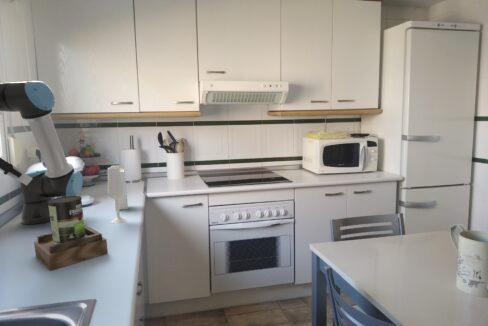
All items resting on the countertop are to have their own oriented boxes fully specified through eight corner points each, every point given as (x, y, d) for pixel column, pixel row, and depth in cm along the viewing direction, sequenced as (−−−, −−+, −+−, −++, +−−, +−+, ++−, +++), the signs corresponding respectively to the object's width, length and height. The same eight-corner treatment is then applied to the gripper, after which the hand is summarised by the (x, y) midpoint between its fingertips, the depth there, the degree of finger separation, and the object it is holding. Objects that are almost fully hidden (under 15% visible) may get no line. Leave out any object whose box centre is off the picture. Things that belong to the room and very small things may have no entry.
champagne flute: (114, 219, 168) (108, 166, 164) (129, 218, 167) (123, 166, 164) (108, 223, 161) (102, 169, 158) (123, 223, 161) (118, 168, 157)
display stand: (50, 270, 114) (47, 249, 113) (35, 255, 128) (33, 236, 127) (107, 253, 126) (105, 233, 125) (88, 241, 139) (86, 223, 138)
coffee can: (92, 234, 130) (87, 195, 128) (73, 245, 120) (67, 203, 118) (66, 234, 132) (61, 195, 130) (45, 244, 122) (40, 203, 120)
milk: (114, 208, 188) (109, 165, 185) (126, 206, 191) (122, 163, 188) (115, 210, 183) (110, 166, 179) (128, 208, 185) (123, 165, 182)
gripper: (-55, 146, 116) (8, 184, 128) (-47, 150, 98) (25, 194, 110) (-37, 127, 119) (23, 167, 131) (-26, 128, 100) (42, 174, 113)
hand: (24, 179), depth 120 cm, fingers open, 13 cm apart
